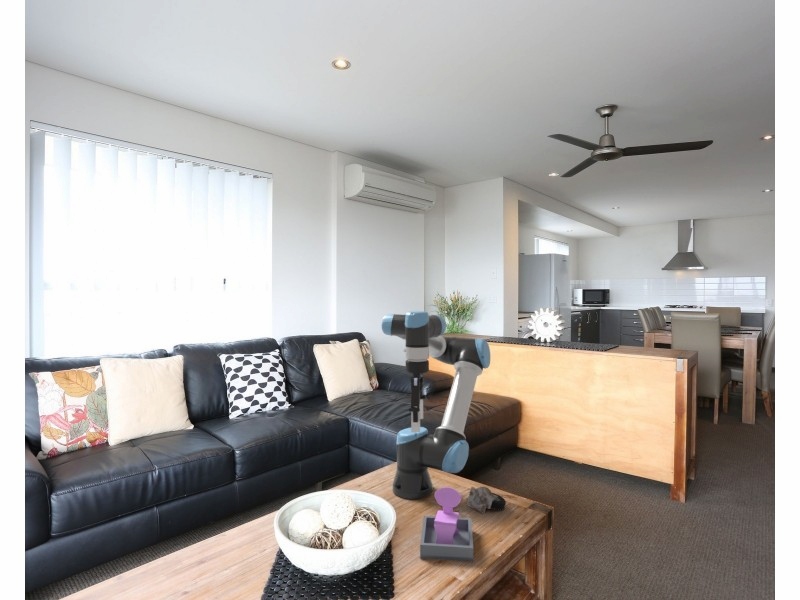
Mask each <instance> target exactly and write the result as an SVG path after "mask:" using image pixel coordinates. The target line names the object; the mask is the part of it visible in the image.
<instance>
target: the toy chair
mask: <svg viewBox="0 0 800 600" xmlns="http://www.w3.org/2000/svg"><path fill="white" fill-rule="evenodd" d="M434 499H435V500H436V502H437V504H438V505H440V506H442V510H437V513H436V515H435V516H436V518H435V520H434V527H435V531H436V534H437V540H436V543H435V544H450V545H454V543H453V534H459V531H458V529H457V525H456V524H457V520H458V518H460V513H459V512H455V511H454V508H456V507H458V505H459V504H461V501H462V495H461V494H460V492H459V491H457V489H455V488H453V487H452V486H451V487H450V486H443V487H441V488H439V489H437V490H435V492H434Z"/></svg>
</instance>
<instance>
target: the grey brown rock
mask: <svg viewBox="0 0 800 600" xmlns="http://www.w3.org/2000/svg"><path fill="white" fill-rule="evenodd" d="M506 503H507V501H506V499H505V498H504V497H503V496H501V495H500V494H498V493H495V492H493V491H491V490H490V489H489V488H488V487H487V486H480V487H477V488H476V487H474V486H471V487H470V491H469V495H468V498H467V503H466V505H467V506H469V507H470V508H473V510H475V511H478V512H480V513H481V514H485V512H486V509H490V510H491V509H492V510H494V511H499V512H500V511H503V510H504V509H505V507H506V505H507V504H506Z"/></svg>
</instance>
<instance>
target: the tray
mask: <svg viewBox="0 0 800 600" xmlns="http://www.w3.org/2000/svg"><path fill="white" fill-rule="evenodd" d="M435 518H436V515H433V516H432V515H423V517H422V519H423V520H422V528H421V536H420V543H419V552H420V553H419V559H424V560H425V559H426V560H439V561H440V560H441V561H453V562H469V563H470V562H471V563H473V562H474V539H473V525H472V524H473V523H472V518H471V517H459V518H458V520H457V524H456V525H457V529H458V531H459V534H453V543H454V545H450V544H435V543H436V540H437V534H436V531H435V527H434V520H435Z"/></svg>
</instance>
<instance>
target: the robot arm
mask: <svg viewBox="0 0 800 600" xmlns="http://www.w3.org/2000/svg"><path fill="white" fill-rule="evenodd" d="M446 329H447V322H446V320H445V319H444V318H443V317H442V316H440V315H438V314H431V315H430V314H429V313H428V311H425V310H414V311H413V310H412V311H407V312H406V313H405V314H397V313H392V314H391V313H389V314H386V315H384V317H382V320H381V330H382V333H384V334H385V335H386V336H390V337H392V336H393V337H394V336H395V337H397V338H400V339H402V340H403V341H405V348H404V349H403V352H404V353H405V372H406V373H409V374H412V376H411V378H410V384H411V385H410V391H411V393H410V408H408V412H411V413H410V417H411V419H410V422H411V423H410V425H411V426H410V427H408V428H407V427H406V428H404V429H401V430H399V432H397V435H396V443H395V444H396V472H395V474H394V475H395V476H394V479H393V481H392V492H393V494H394V495H395V496H398V497H399V498H402V499H406V500H408V499H410V500H416V499H423V498H427V497H428V496H430V495H432V493H433V482H432V479H431V475H430V473H429V469H433V470H437V471H441V472H444V473H451V474H457V473H460V472H461V471H462V470H463V469H464V467H465V466H466V463H467V460H468V457H469V451H470V447H469V443H468V442H467V440H466V439H467V438H466V435H465V433H464V432H465V428H466V427H465V426H466V423H467V418H468V414H469V411H470V408H471V403H472V398H473V395H474V390H475V387H476V383H477V380H478V377H479V376H481V375H482V374H483V370H484V369H488V368H489V367H490V365H491V349H490V348H491V347H490V346H489V343H488V341H487V340H486V339H483V338H482V339H481V338H477V337H476V338H470V337H469V338H468V337H457V336H442V335H443V334H444V333H445V332H446ZM429 358H432V359H435V360H437V361H438V362H441V363H444V364H446V365H452V366H453V367H454V369H455V372H454V373H455V374H454V378H453V381H452V385H451V388H450V392H449V395H448V399H447V401H446V403H447V404H446V406H445V410H444V414H443V416H442V420H441V425H440V426H437V427H436V428H435V431H434V434H429V431H428V429H427V428H426V427H424V426H421V420H423V419H424V399H426V395H425V394H424V381H425V380H424V379H425V377H424V376H423V374H426V373H428V372H429V371H430V360H429Z"/></svg>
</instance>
